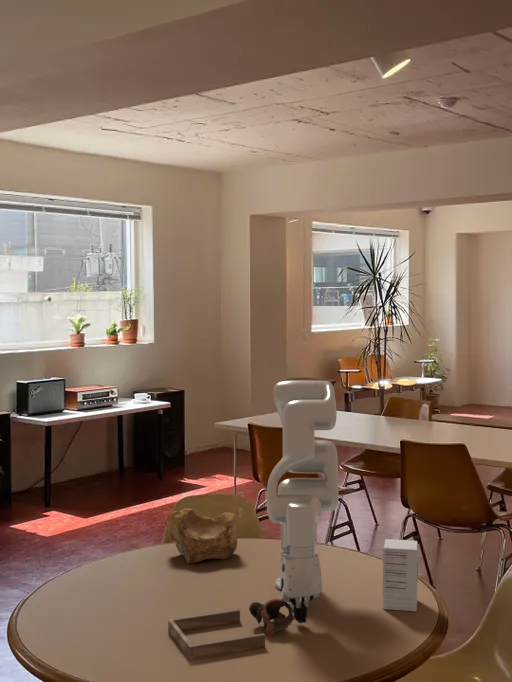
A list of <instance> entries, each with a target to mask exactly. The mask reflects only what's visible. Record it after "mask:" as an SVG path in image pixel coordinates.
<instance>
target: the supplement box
mask: <svg viewBox="0 0 512 682" xmlns="http://www.w3.org/2000/svg"><path fill="white" fill-rule="evenodd" d="M418 544H419V543H418V540H413V539H412V540H409V539H391V538H390V539H389V538H385V539H384V545H383V548H382V609H383V610H392V611H393V610H394V611H405V612H418V610H417V609H418V581H419V579H418V578H419V577H418V576H419V575H418V572H419V565H418V564H419V552H418V551H419V547H418V546H419V545H418Z"/></svg>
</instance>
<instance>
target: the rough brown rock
mask: <svg viewBox="0 0 512 682" xmlns="http://www.w3.org/2000/svg"><path fill="white" fill-rule="evenodd" d="M166 522H167V524H166V530H167V535H168V538H169V539H170V540H171V541H172V542H174V543H175V546H176V549H177V552H178V553H179V554H181V555H182V556H183V557H184V560H185V562H186V563H187V564H188V565H189V564H190V565H191V564H194V563H200V562H202V561H204V560H208V559H218V560H227V559H229V558H230V557H232V555H233V554H234V553H236V550H237V548H238V532H237V515H236V514H235V513H233V512H228V511H227V512H226V511H225V512H223V513H222V514H220V515H218V516H214V517H210V516H202V515H199V514H198V513H196V512H195V510H194V509H192V508H190V507H189V508H188V507H187V508H183V509H181V510H174V511H171V512H170V513H169V514H168V515H167V518H166Z"/></svg>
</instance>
